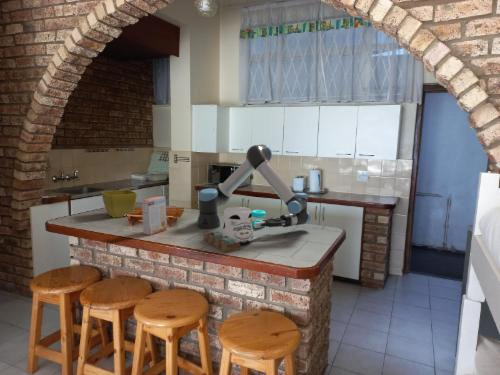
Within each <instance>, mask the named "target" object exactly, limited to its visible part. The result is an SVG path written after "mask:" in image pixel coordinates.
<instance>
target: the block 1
mask: <svg viewBox="0 0 500 375" xmlns="http://www.w3.org/2000/svg"><path fill="white" fill-rule="evenodd" d="M218 232H219V233H214V237H216V238H218V239H219V240H221V241H222V239H223V237H222V231H221V232H220V231H218Z"/></svg>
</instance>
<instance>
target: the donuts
mask: <svg viewBox="0 0 500 375" xmlns="http://www.w3.org/2000/svg"><path fill="white" fill-rule="evenodd" d="M266 215H267V213H266V211H265V210H261V209H254V210H252V218H256V219H254V220H252V228H253V229H256V228H255V227H254V226H255V223H257V222H263V220H261V219H262V218H263V217H264V218H265V217H266ZM257 218H261V219H257ZM262 228H263V227H259V228H258V229H262Z"/></svg>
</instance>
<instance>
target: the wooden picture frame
mask: <svg viewBox="0 0 500 375" xmlns="http://www.w3.org/2000/svg"><path fill="white" fill-rule="evenodd" d="M219 232H220V231H215V232H208V231H204V232H203V241H205V242H206V243H208V244H210V245H212V246H213V247H215V249H218V250H220V251H222V253H229V252H234V251H238V250H241V244H240V243H239V242H238V243H233V244H227V245H226V243H225V242H223V241H221V240H219V239H218V238H216V237H214V233H219Z"/></svg>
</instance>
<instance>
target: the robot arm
mask: <svg viewBox="0 0 500 375" xmlns="http://www.w3.org/2000/svg"><path fill="white" fill-rule="evenodd" d="M272 157H273V152H272V149H271V147H269V146H267V145H266V144H255V145H252V146H250V147H249V148H248V149H247V151H246V156H245V160H244V161H243V162H242V163H241V164H240V165H239V166H238V167H237V168H236V169H235V170H234V172H232V173H231V174H230V175H229V176H228V178H227V179H226V180H224V182H222V183H221V182H220V183H219V184H217V186H215V187H214V188H210V187H209V188H204V189H201V190H200V191H199V193H198V207H199V208H198V211H199V212H198V217H197V220H196V227H197V228H198V229H199V228H200V229H206V230H207V229H217V228H219V227H221V221H220V218H219V214H218V213H219V212H218V207H220V206H224V205H225V204H227V203H228V202H229V201H230V198H231V197H232V196H233V192H234V191H235V190H236V189H237V188H238V187H239V186H240V185H241V184H242V183H243V182H244V181H246V179H247V178H248V177H249V176H251V174H253V173H254V172H259V174H260V175H261V176H262V178H263V179H264V180H265V181H266V182H267V184H268V185H269V186H270V187H271V188H272V189H273V191H274V192H275V193H276V195H277V196H278V197H279V198H280V199H281V201H282V202H283V203H284V204H285V205H286V207H287V211H288V212H289V213H285V214H281V215H280V217H276V218H274V217H270V218H266V219H263V220H262V221H263V222H257V223H255V226H254V227H255V228H254V227H253V228H254V229H260V228H259V227H262V228H266V227H268V228H275V227H278V228H279V227H282V228H289V227H290V228H292V227H293V226H299V225H306V224H309V223H310V222H311V219H312V218H311V214H310V213H309V211H308V194H307V193H305V192H296V193H294V192H293V191H292V190H291V189H290V188H289V186H288V185H287V184H286V182H285V181H284V180H283V179H282V178H281V177H280V175H279V174H278V172H276V171H275V169H274V168H273V167H272V166H271V164H269V162H270V160H271V159H272Z"/></svg>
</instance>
